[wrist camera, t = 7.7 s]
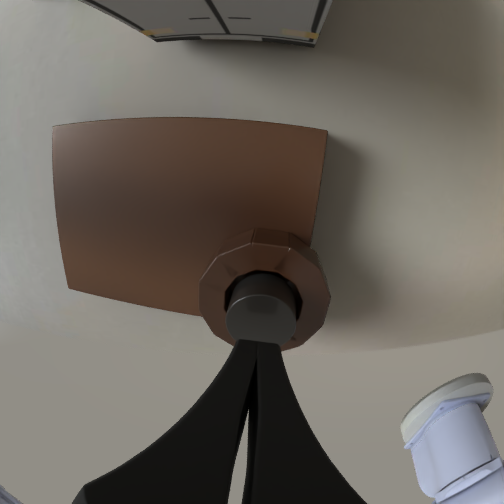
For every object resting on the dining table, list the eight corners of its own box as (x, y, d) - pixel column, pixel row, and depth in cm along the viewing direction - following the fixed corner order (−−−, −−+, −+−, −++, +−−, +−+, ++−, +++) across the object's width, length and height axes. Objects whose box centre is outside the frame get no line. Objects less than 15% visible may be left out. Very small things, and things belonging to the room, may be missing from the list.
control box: (308, 313, 17) (313, 359, 13) (86, 277, 18) (53, 307, 14) (341, 134, 13) (363, 135, 9) (75, 124, 14) (30, 128, 10)
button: (289, 329, 13) (289, 354, 12) (230, 321, 13) (223, 345, 12) (300, 277, 12) (302, 299, 11) (234, 268, 12) (226, 290, 11)
